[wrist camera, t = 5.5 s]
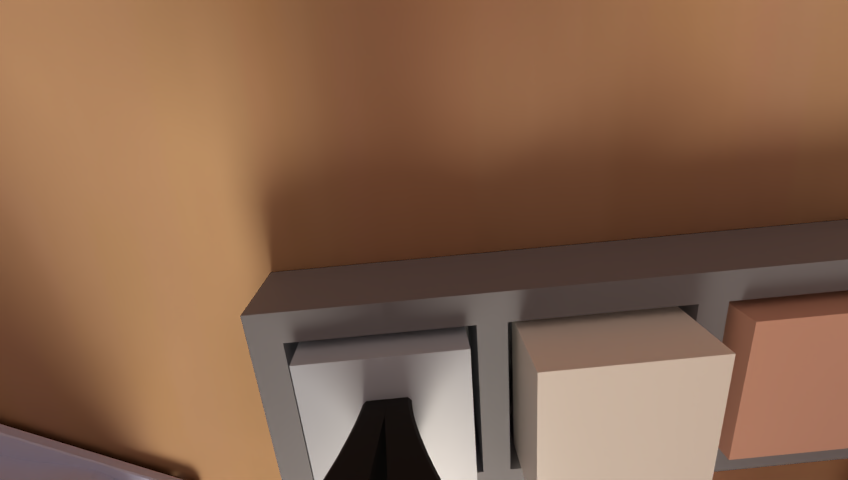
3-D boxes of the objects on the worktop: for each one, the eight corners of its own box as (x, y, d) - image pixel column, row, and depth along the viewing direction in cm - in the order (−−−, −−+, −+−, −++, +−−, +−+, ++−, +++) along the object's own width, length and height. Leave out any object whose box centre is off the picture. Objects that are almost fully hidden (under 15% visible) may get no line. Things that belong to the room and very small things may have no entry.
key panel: (308, 444, 18) (290, 513, 15) (270, 272, 15) (240, 315, 12) (812, 395, 18) (889, 454, 15) (860, 218, 15) (962, 248, 13)
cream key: (513, 442, 15) (536, 518, 13) (511, 316, 14) (537, 372, 11) (655, 428, 15) (708, 500, 13) (671, 301, 14) (735, 353, 11)
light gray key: (332, 433, 16) (318, 500, 14) (309, 315, 15) (289, 366, 12) (465, 420, 16) (477, 484, 14) (458, 301, 15) (470, 349, 12)
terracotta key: (677, 400, 17) (729, 459, 14) (693, 279, 15) (756, 321, 12) (807, 387, 17) (883, 444, 14) (839, 266, 15) (932, 305, 12)
